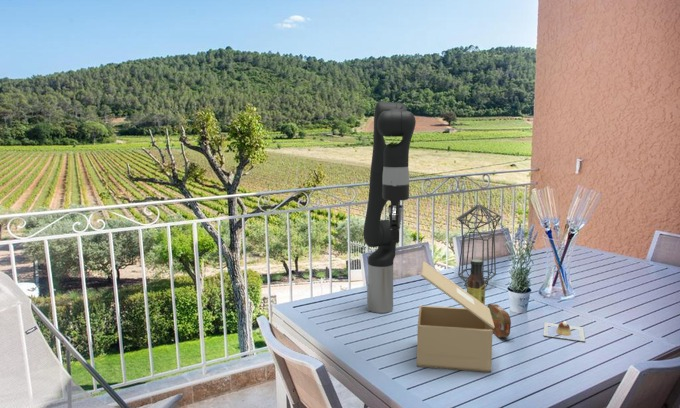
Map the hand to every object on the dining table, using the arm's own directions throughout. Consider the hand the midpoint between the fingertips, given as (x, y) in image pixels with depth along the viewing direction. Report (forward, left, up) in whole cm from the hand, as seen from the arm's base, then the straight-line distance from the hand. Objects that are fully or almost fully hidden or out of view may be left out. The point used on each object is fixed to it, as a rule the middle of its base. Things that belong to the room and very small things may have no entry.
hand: (395, 242), depth 146 cm
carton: (+17, 0, -34) cm, 38 cm away
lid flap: (+17, 0, -14) cm, 23 cm away
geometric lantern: (+29, +71, -34) cm, 84 cm away
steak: (+32, +21, -34) cm, 51 cm away
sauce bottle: (+26, +36, -34) cm, 56 cm away
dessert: (+53, +24, -34) cm, 68 cm away
